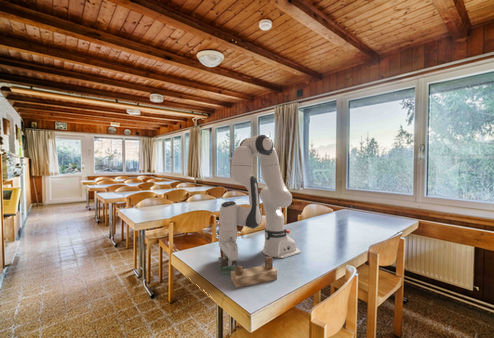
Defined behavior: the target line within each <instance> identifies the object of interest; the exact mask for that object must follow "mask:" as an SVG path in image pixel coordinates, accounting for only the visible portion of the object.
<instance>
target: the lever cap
mask: <svg viewBox="0 0 494 338" xmlns="http://www.w3.org/2000/svg"><path fill="white" fill-rule="evenodd" d="M217 258H218V259H217V260H218V261H217V263H218V265H219V267H225V266H228V264H227V261H228V257H227V256H224V257H221V256H219V257H217ZM237 261H238V259H237V260H235V261H232V265H234V266H238V264H237Z"/></svg>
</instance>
